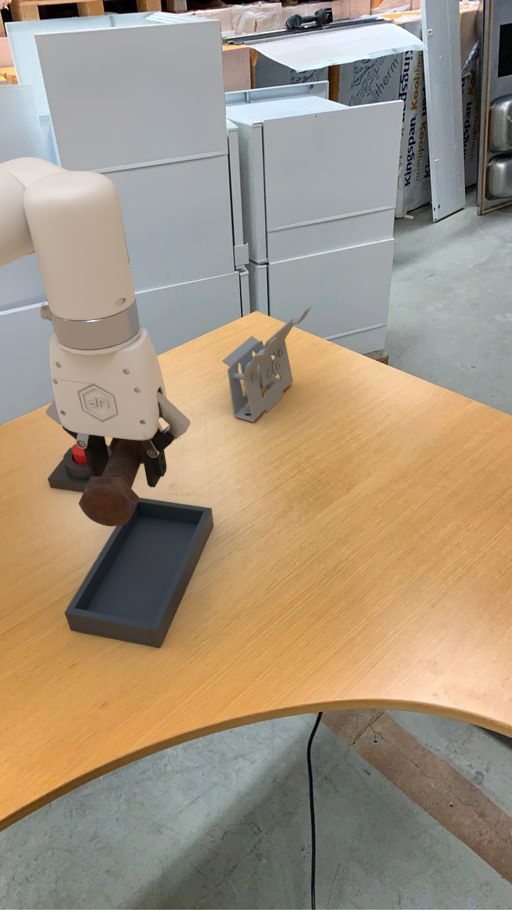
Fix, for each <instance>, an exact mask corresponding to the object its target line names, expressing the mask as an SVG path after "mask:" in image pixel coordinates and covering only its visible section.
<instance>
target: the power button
mask: <svg viewBox="0 0 512 910" xmlns="http://www.w3.org/2000/svg"><path fill="white" fill-rule="evenodd" d="M73 445H74V446H73ZM73 445H72V446H73V448H72V452H73V455H74V459H75V462H76V463H77V464H84V465H85V464H87V461H86V457H85V453H84V450H83V449H81V448H79V447H78V446H77V444H76V443H75V444H73Z"/></svg>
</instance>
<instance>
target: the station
mask: <svg viewBox="0 0 512 910" xmlns="http://www.w3.org/2000/svg"><path fill="white" fill-rule="evenodd" d="M74 445H75V444H73V445H72V446H70V448H68V449H67V451H66V452H65V453H64V454H63V456H62V457H63V458H62V460H60V462H59V463H58V464H57V466H55V468H54V469H53V471H52V472H51V473H50V474H49V476H48V477H47V482H48V485H49V487H50V489H56V490H63V491H71V492H77V493H82V494H83V493H84V490H85V488H86V486H87V484H88V482H89V480H90V478H91V477H92V476H91V472H90V468H89V467H88V465H87V464H85V465H84V464H77V463H76V462H75V459H74V455H73V452H72V448H73V446H74ZM106 445H107V450H108V454H109V458H110V456H111V454H112V452H111V450H110V448H109V445H108V444H106Z"/></svg>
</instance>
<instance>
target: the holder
mask: <svg viewBox="0 0 512 910" xmlns="http://www.w3.org/2000/svg"><path fill="white" fill-rule="evenodd" d="M213 516H214V515H213V510H212V507H207V506H200V505H194V504H193V505H192V504H188V503H187V504H185V503H179V502H172V501H166V500H159V499H152V498H145V497H139V500H138V503H137V506H136V508H135V510H134V512H133V514H132V516H131V517H130V519H129V521H128V522H127V524H124V525H120V526H114V529H113V531H112V532H111V534H110V536H109V537H108V539H107V541H106V542H105V544H104V546H103V547H102V549H101V551H100V552H99V554H98V555H97V558H96V559H95V561H94V562H93V564H92V566H91V567H90V569H89V570H88V572H87V574H86V576H85V577H84V578H83V581H82V583H81V584H80V586H79V588H78V589H77V591H76V592H75V594H74V595H73V597H72V599H71V601H70V602H69V604H68V606H67V607H66V609H65V611H64V615H65V616H64V617H65V618H66V619H65V620H66V622H67V625H68V627H69V631H72V632H77V633H81V634H86V635H87V634H88V635H91V636H98V637H102V638H107V639H113V640H117V641H122V642H127V643H132V644H135V645H136V644H137V645H143V646H145V647H146V646H147V647H150V648H151V647H152V648H157V649H161V647H162V646H163V643H164V641H165V638H166V636H167V634H168V632H169V629H170V627H171V625H172V622H173V620H174V618H175V616H176V613H177V611H178V609H179V606H180V604H181V602H182V600H183V598H184V595H185V593H186V591H187V588H188V585H189V583H190V581H191V578H192V576H193V574H194V572H195V570H196V568H197V565H198V563H199V560H200V558H201V555H202V554H203V552H204V549H205V547H206V544H207V542H208V539H209V537H210V535H211V533H212V531H213V528H214V517H213Z"/></svg>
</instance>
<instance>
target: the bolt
mask: <svg viewBox="0 0 512 910" xmlns="http://www.w3.org/2000/svg"><path fill="white" fill-rule="evenodd" d="M152 438H153V437H152ZM153 439H154V438H153ZM108 446H109V448H110V450H111V452H112V454H111V456H110V458H109V461H108V464H107V466H106V468H105V470H104V472H103V474H102V476H101V477H91V478H90V480H89V482H88V484H87V486H86V488H85V490H84V493H83V492H82V495H81V497H80V499H79V501H78V505H79V507H80V509H81V511H82V512H83V514H84V515H85V516H86V517H87V518H88V519H90V520H91V521H92V522H95V524H99V525H101V526H105V527H116V526H120V525H124V524H127V522H128V521H129V519H130V517H131V516H132V514H133V512H134V510H135V508H136V506H137V503H138V500H139V498H140V497H139V496H138V494H137V493H136V492H135V491H134V490H133V485H134V482H135V481H136V480H135V479H136V477H137V475H138V473H139V470H140V467H141V465H144V463H143V457H144V455H145V454H146V451H145V449H144V448H143V446H142V444H141V443H140V441H139V440H130V439H121V438H113V437H112V439H111V441H110V443H109V445H108Z"/></svg>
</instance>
